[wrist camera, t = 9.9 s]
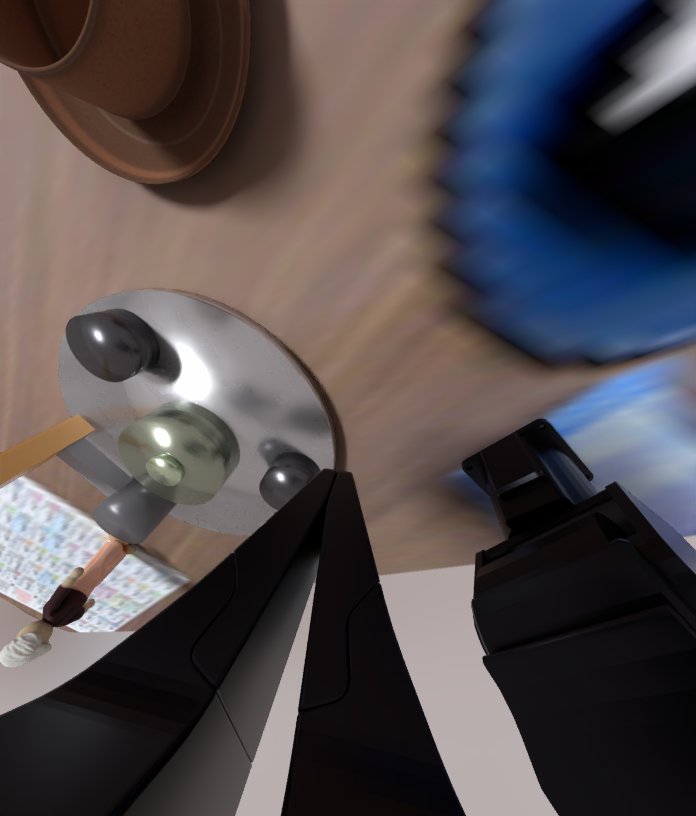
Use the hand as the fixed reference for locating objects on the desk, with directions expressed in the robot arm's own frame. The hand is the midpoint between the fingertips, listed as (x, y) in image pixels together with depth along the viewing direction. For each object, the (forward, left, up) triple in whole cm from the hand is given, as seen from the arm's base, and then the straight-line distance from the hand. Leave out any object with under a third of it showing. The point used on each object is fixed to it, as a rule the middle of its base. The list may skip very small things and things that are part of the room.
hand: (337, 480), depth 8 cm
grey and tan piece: (+8, +24, -11) cm, 28 cm away
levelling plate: (+5, +16, -12) cm, 21 cm away
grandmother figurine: (+4, +42, -12) cm, 44 cm away
